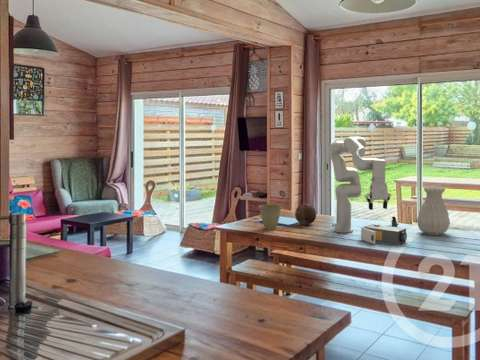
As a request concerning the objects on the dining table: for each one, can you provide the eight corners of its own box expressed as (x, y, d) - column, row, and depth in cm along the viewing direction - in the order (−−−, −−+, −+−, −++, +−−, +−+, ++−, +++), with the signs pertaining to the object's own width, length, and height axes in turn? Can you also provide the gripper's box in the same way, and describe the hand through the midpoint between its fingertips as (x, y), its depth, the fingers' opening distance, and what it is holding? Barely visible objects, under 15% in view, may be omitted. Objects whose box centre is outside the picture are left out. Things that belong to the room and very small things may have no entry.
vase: (432, 238, 304) (433, 190, 301) (409, 231, 322) (411, 186, 319) (456, 235, 311) (458, 188, 308) (433, 229, 330) (435, 185, 327)
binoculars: (381, 217, 323) (397, 216, 321) (382, 232, 324) (398, 231, 322) (382, 219, 314) (398, 218, 312) (383, 235, 315) (400, 234, 313)
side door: (359, 239, 300) (359, 227, 299) (362, 238, 300) (362, 227, 300) (372, 244, 286) (372, 231, 285) (375, 244, 286) (375, 231, 286)
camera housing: (362, 239, 300) (363, 225, 299) (372, 236, 309) (372, 222, 308) (400, 245, 284) (400, 230, 283) (409, 242, 292) (409, 227, 291)
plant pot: (264, 226, 343) (264, 203, 342) (284, 228, 336) (284, 205, 335) (255, 230, 330) (255, 206, 329) (275, 232, 323) (275, 208, 322)
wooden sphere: (317, 223, 353) (317, 202, 352) (314, 227, 339) (314, 205, 337) (296, 222, 357) (296, 202, 356) (293, 226, 343) (293, 205, 341)
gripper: (369, 181, 281) (368, 210, 283) (395, 180, 286) (394, 209, 288) (362, 180, 288) (361, 208, 290) (387, 179, 293) (386, 207, 295)
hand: (377, 209), depth 289 cm, fingers open, 9 cm apart
